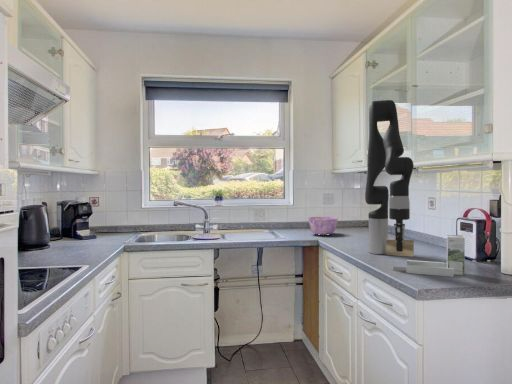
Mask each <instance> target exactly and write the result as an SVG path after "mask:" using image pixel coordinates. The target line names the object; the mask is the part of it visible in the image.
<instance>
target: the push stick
mask: <svg viewBox="0 0 512 384" xmlns="http://www.w3.org/2000/svg"><path fill="white" fill-rule="evenodd" d="M395 239H396V238H388V239H386V254H385V255H386V256H388V255H389V256H401V257H412V258H413V257H414V245H415V243H414V242H415V241H414V240H413V239H404V240H403V242H402V246H403V250H402V252H399V251H397V250H396V240H395Z"/></svg>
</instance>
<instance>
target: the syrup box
mask: <svg viewBox="0 0 512 384" xmlns="http://www.w3.org/2000/svg"><path fill="white" fill-rule="evenodd" d="M465 241H466V240H465V237H464V235H458V234H457V235H456V234H455V235H454V234H447V235H446V263H447V268H454V276H465V269H466V268H465V265H466V264H465V262H466V261H465V253H466V251H465V250H466V249H465V246H466V245H465V243H466V242H465Z"/></svg>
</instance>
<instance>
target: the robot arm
mask: <svg viewBox="0 0 512 384" xmlns="http://www.w3.org/2000/svg"><path fill="white" fill-rule="evenodd" d="M397 110H398V109H397V106H396V103H395V101H394V100H391V99H385V100H384V99H383V100H373V101H371V102H370V104H369V108H368V131H369V132H368V134H369V135H368V136H369V137H368V146H367V147H368V148H367V168H366V169H367V172H366V175H367V176H366V184H365V194H364V199H365V203H366V204H367V205H380V207H378V208H377V209H375V210H372V211H369V212H368V215H367V217H368V253H369V254H374V255H386V239H389V219H390V220H395V223H394V224H393V228H394V236H395V238H394V239H395V240H396V250H397V251H399V252H402V250H403V246H402V242H403V240H405V239H404V238H405V228H406V223H404V221H407V220H410V216H411V215H410V214H411V213H410V212H411V209H410V208H411V207H410V205H411V204H410V195H409V193H410V192H409V191H410V189H409V187H410V181H411V177H412V174H413V171H414V161H413V159H412V158H411V157H409V156H408V157H407V156H402V155H403V154H404V149H405V148H404V145H403V142H402V138H401V134H400V128H399V118H398V112H397ZM378 122H380V123H381V122H389V125H388V127H387V130H386V131H385V132H384V135H383V137H382V135H381V132H380V131H379V128H378ZM384 169H385V172H386V173H387V174H388V175H390V176H401V178H399V179H398V180H393V181H391V182H390V184H389V188H388V186H386V185H375V182H376V180H377V178H378V176H379V175H380V174H381V173H382V172H383V171H384Z"/></svg>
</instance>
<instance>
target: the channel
mask: <svg viewBox="0 0 512 384" xmlns="http://www.w3.org/2000/svg"><path fill="white" fill-rule="evenodd" d="M392 271H395V272H405V273H406V274H407V273H408V274H417V275H418V274H419V275H430V276H442V277H443V276H444V277H453V278H454V276H455V275H454V268H447V262H441V261H428V260H426V261H425V260H415V259H413V260H410V259H407V260H406V265H405V267H404V266H393V268H392Z"/></svg>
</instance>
